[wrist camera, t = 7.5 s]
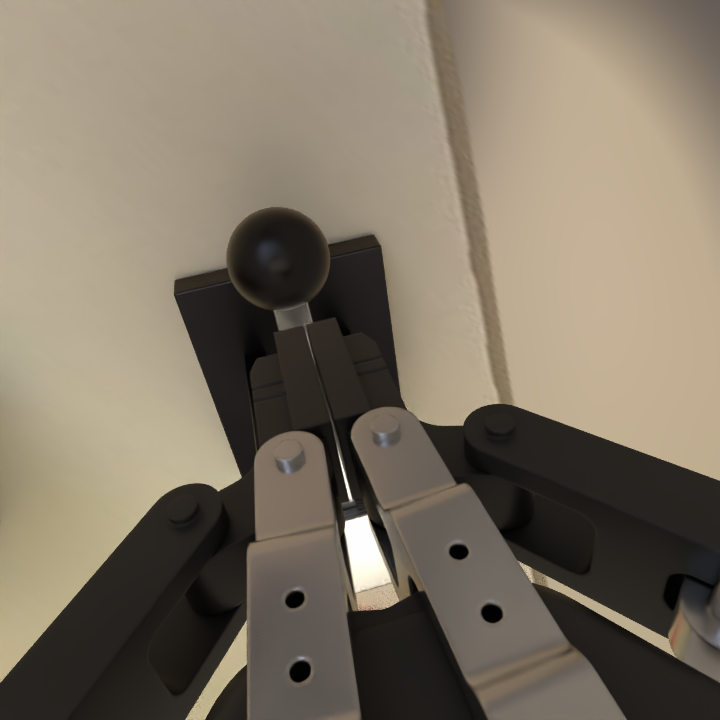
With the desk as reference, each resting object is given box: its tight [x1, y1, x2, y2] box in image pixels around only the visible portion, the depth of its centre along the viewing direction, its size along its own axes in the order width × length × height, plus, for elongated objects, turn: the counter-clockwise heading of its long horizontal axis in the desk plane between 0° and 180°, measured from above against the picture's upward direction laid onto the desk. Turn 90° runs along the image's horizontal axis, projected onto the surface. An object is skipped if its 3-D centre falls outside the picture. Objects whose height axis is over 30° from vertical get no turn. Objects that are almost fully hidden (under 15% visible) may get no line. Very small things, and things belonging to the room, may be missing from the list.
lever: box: [226, 207, 392, 593], centre depth 20 cm, size 13×3×3 cm, turn 8°
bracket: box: [174, 235, 401, 477], centre depth 25 cm, size 12×9×13 cm
